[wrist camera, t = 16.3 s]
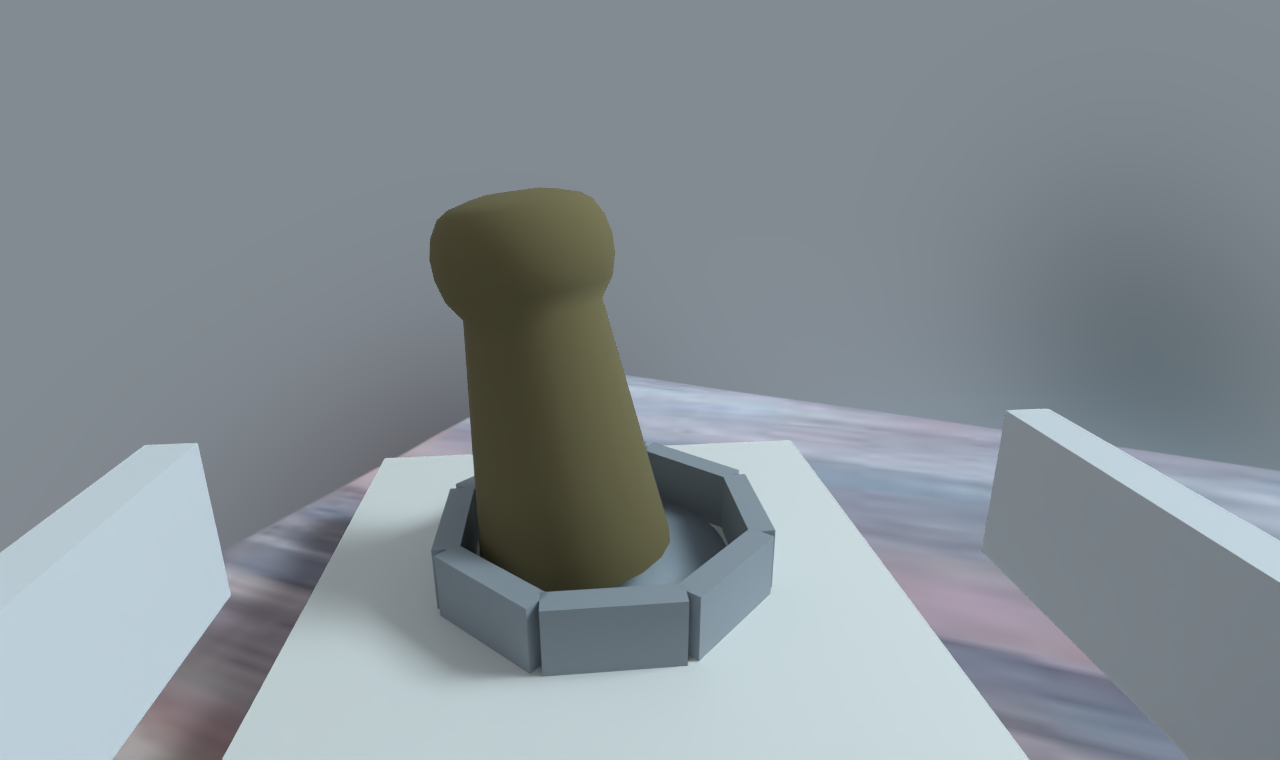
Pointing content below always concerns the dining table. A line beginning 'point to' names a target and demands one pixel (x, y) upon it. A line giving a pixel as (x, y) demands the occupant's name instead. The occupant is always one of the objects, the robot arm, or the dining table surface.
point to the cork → (548, 391)
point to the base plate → (618, 636)
